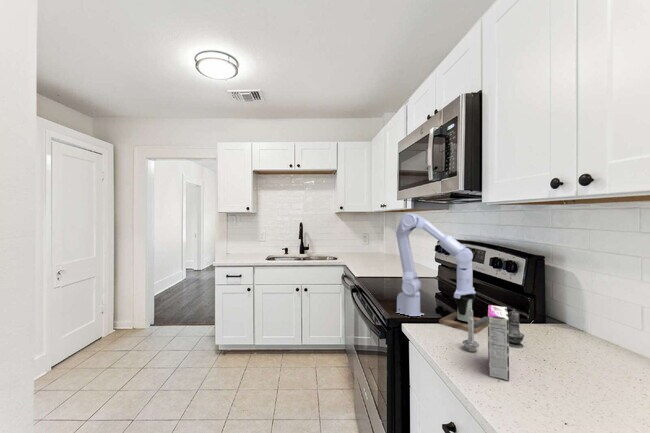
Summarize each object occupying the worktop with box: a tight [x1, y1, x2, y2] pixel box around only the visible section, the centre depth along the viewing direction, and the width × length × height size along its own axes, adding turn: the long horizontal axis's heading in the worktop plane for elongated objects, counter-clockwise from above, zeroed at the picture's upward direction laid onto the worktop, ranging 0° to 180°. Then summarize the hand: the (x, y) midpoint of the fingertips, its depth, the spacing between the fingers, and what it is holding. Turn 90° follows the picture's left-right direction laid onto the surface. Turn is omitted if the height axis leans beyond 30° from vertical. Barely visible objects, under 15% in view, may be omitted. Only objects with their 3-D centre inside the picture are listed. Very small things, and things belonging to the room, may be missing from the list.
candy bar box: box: [487, 304, 510, 381], centre depth 82 cm, size 11×5×16 cm, turn 151°
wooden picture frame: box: [438, 312, 488, 335], centre depth 117 cm, size 14×14×2 cm
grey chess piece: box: [508, 308, 525, 349], centre depth 99 cm, size 6×6×12 cm
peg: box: [456, 299, 473, 323], centre depth 117 cm, size 4×4×8 cm
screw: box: [461, 309, 480, 353], centre depth 94 cm, size 13×5×5 cm
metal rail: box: [474, 316, 488, 329], centre depth 113 cm, size 1×12×2 cm, turn 132°
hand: (464, 313), depth 117 cm, fingers closed on peg, 4 cm apart
